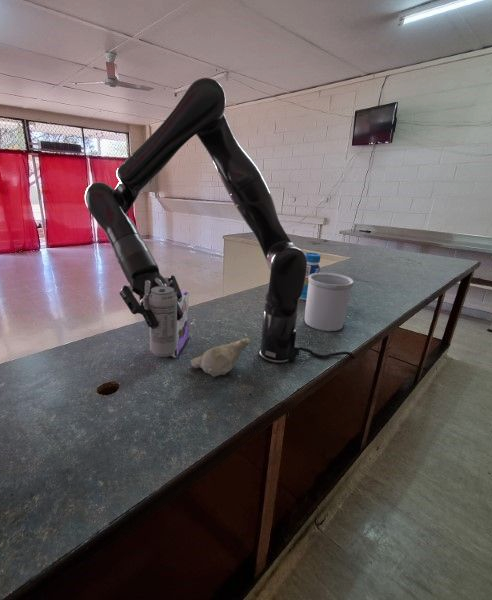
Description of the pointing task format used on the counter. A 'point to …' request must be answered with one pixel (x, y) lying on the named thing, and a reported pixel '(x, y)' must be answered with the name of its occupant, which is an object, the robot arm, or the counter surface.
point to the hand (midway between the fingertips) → (168, 322)
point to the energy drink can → (163, 321)
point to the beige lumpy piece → (220, 358)
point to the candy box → (182, 323)
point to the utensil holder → (327, 300)
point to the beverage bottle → (310, 270)
